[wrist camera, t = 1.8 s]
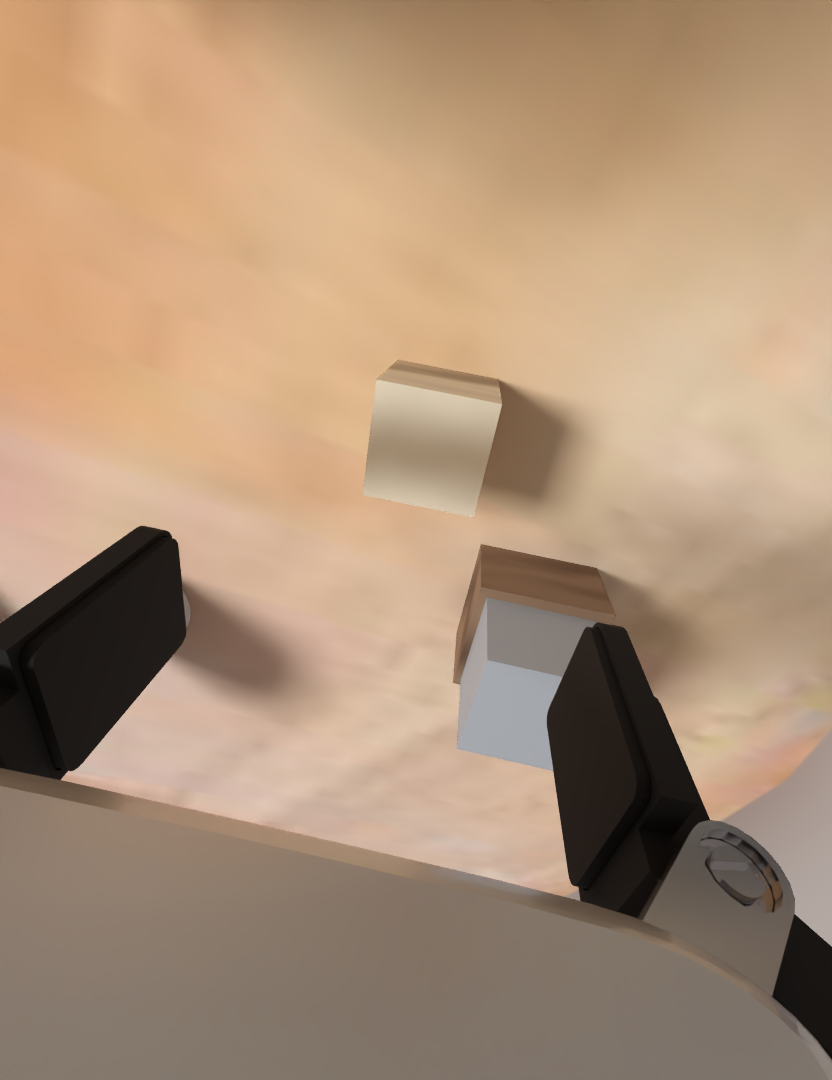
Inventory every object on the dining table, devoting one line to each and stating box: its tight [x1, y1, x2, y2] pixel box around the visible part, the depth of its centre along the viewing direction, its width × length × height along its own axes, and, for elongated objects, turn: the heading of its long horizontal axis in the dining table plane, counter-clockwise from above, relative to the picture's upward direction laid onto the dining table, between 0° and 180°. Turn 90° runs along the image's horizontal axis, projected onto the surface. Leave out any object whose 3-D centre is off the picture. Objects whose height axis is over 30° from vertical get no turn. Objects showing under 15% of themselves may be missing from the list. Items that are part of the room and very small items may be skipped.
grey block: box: [457, 597, 597, 771], centre depth 25 cm, size 6×6×5 cm
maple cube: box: [363, 360, 502, 518], centre depth 24 cm, size 6×6×6 cm
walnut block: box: [453, 544, 616, 684], centre depth 30 cm, size 8×8×5 cm
